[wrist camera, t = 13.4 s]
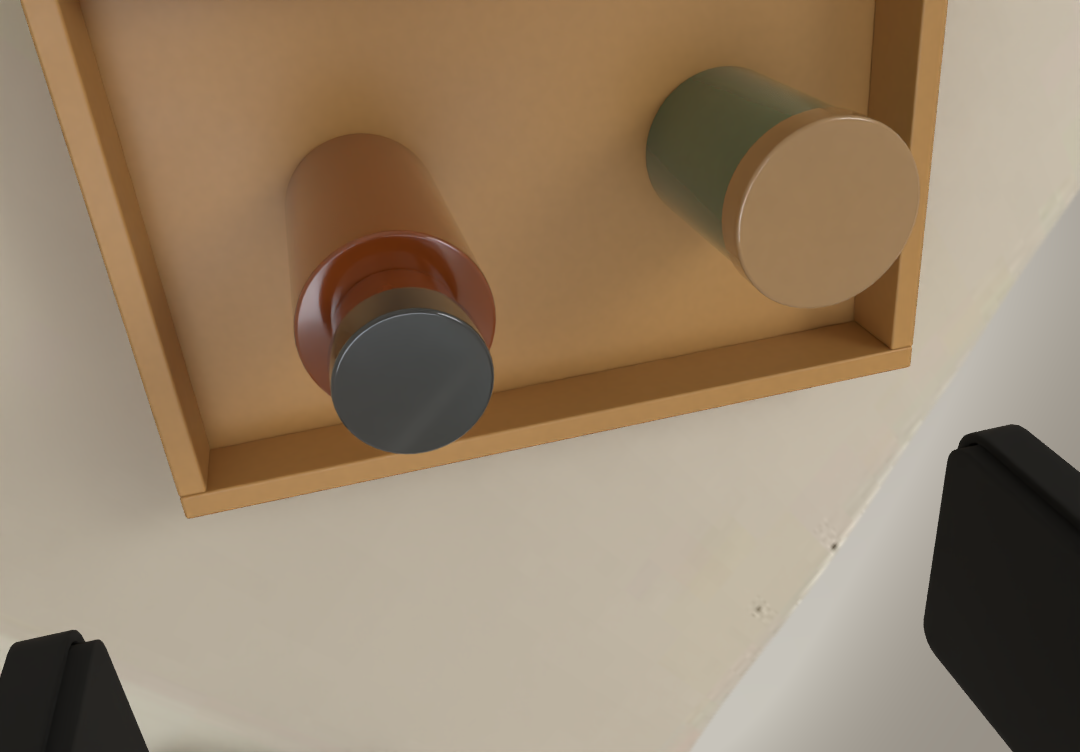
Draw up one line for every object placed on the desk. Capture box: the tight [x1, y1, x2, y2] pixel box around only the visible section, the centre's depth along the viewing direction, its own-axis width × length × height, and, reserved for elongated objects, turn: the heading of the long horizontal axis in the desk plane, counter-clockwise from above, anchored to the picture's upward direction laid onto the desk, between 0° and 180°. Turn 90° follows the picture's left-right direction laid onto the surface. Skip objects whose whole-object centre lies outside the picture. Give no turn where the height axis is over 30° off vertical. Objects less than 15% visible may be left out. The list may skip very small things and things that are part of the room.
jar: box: [646, 66, 920, 308], centre depth 28 cm, size 5×5×7 cm
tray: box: [20, 0, 948, 518], centre depth 29 cm, size 16×24×3 cm, turn 95°
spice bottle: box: [285, 133, 496, 454], centre depth 24 cm, size 4×4×11 cm
